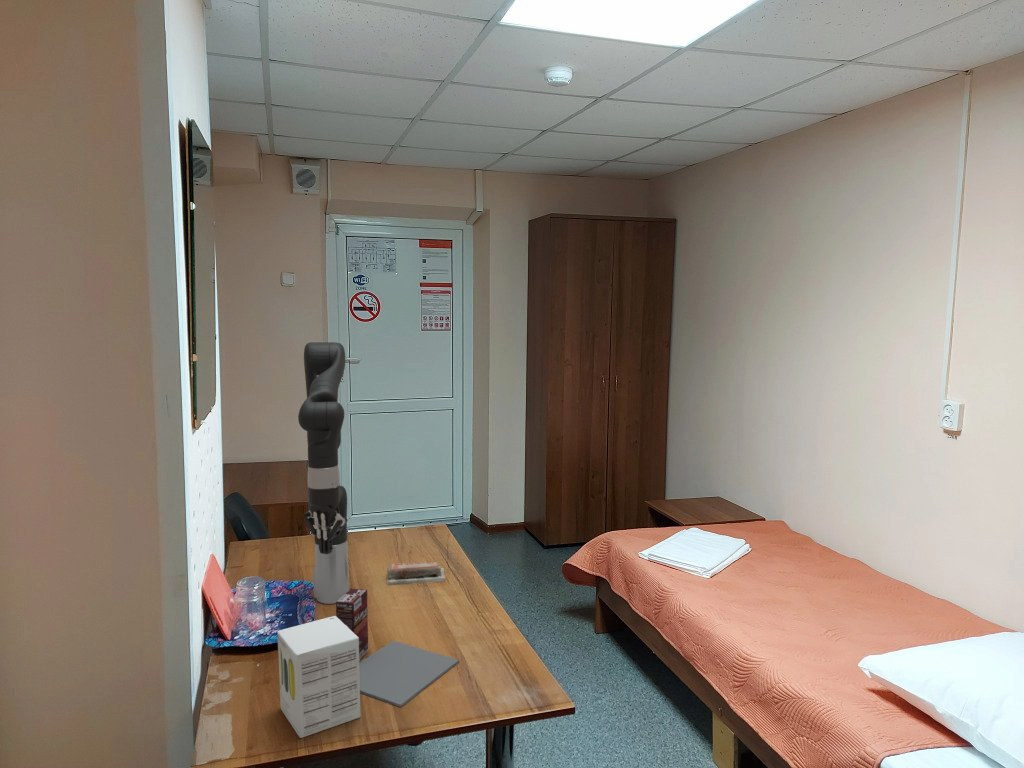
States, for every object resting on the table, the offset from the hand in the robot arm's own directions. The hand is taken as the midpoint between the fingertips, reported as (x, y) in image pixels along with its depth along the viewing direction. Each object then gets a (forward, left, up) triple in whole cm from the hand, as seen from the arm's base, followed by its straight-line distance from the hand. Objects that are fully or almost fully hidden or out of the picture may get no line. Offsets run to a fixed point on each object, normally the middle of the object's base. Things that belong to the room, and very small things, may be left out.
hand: (326, 552), depth 172 cm
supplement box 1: (+18, -21, -25) cm, 37 cm away
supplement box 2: (+8, 0, -25) cm, 26 cm away
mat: (+22, 0, -25) cm, 33 cm away
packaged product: (-10, +49, -26) cm, 56 cm away
